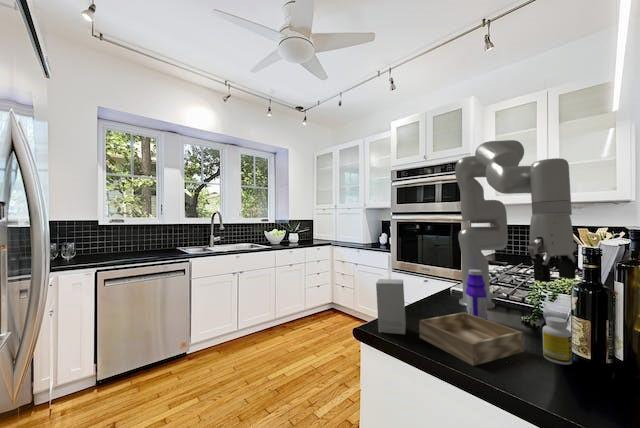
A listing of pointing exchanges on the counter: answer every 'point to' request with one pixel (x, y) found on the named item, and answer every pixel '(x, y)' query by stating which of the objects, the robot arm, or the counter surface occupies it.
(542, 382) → the counter surface
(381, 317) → the skincare box
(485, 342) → the crate
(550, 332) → the supplement bottle
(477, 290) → the bottle
